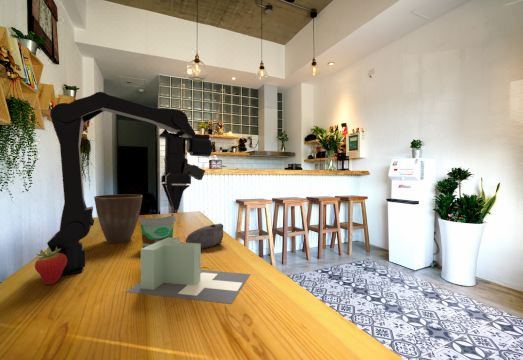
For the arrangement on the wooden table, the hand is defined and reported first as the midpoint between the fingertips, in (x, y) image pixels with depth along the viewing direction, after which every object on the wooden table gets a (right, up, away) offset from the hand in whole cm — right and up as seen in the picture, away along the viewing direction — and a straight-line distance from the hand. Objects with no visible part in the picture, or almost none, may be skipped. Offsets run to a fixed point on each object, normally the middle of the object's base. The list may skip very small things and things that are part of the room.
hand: (174, 208), depth 73 cm
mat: (+11, -14, -19) cm, 26 cm away
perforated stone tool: (+7, -14, +9) cm, 18 cm away
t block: (+7, -14, -19) cm, 24 cm away
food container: (-7, -14, +9) cm, 18 cm away
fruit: (-19, -14, -20) cm, 31 cm away
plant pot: (-25, -14, +16) cm, 33 cm away
